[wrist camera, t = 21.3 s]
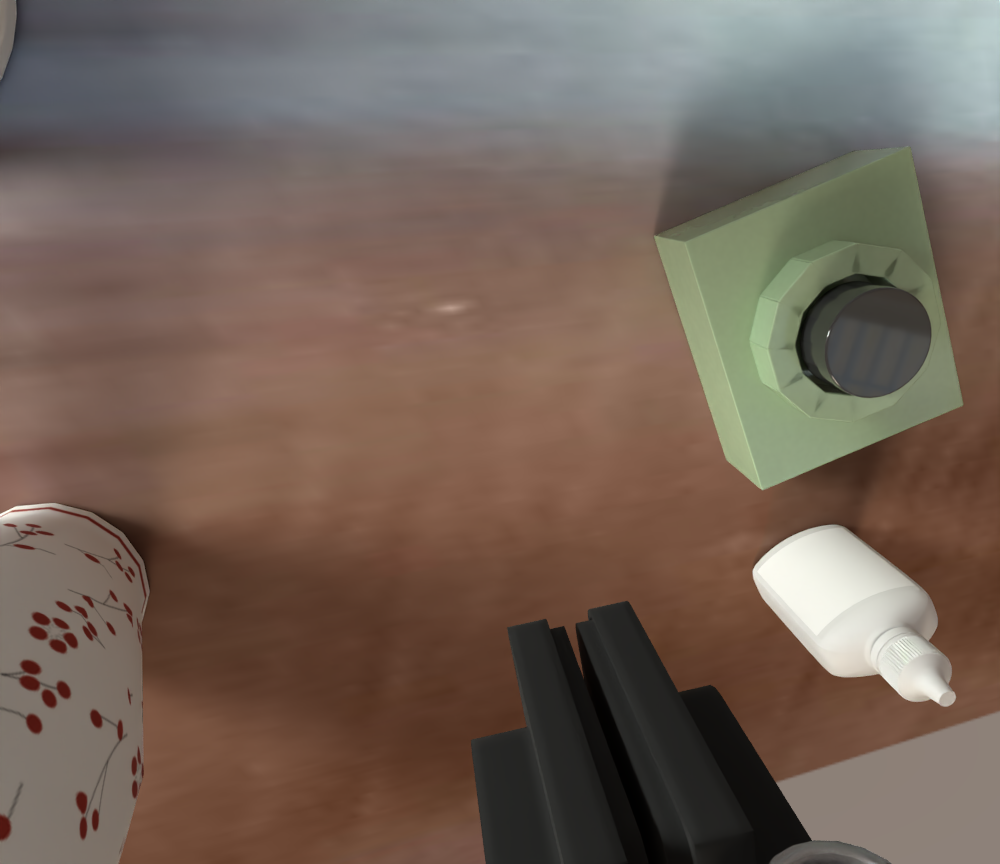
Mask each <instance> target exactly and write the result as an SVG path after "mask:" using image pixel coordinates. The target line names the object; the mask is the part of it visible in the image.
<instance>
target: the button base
mask: <svg viewBox="0 0 1000 864" xmlns="http://www.w3.org/2000/svg"><path fill="white" fill-rule="evenodd" d="M654 239H655V242H656V245H657V248H658V251H659V254H660V257H661V260H662V263H663V266H664V269H665V272H666V275H667V279H668V282H669V285H670V288H671V291H672V294H673V297H674V300H675V303H676V306H677V309H678V312H679V315H680V319H681V322H682V325H683V328H684V331H685V334H686V337H687V340H688V343H689V346H690V349H691V352H692V355H693V359H694V362H695V365H696V368H697V371H698V374H699V377H700V380H701V383H702V386H703V389H704V392H705V395H706V399H707V402H708V405H709V408H710V411H711V414H712V417H713V420H714V423H715V426H716V429H717V432H718V435H719V439H720V442H721V445H722V448H723V451H724V454H725V457H726V460H727V461H728V462H730V463H731V464H732V465H733V466H734V467H735V468H737V469H738V470H739V471H740V472H741V473H742V474H744V475H745V476H746V477H747V478H748V479H750V480H751V481H752V482H753V483H754V484H755V485H757V486H758V487H759V488H760V489H761V490H764V489H767V488H769V487H771V486H774V485H776V484H779V483H781V482H783V481H786V480H788V479H790V478H793V477H795V476H798V475H800V474H802V473H805V472H807V471H809V470H812V469H814V468H816V467H819V466H821V465H824V464H826V463H828V462H831V461H833V460H835V459H838V458H840V457H843V456H845V455H847V454H850V453H852V452H854V451H857V450H859V449H861V448H864V447H866V446H869V445H871V444H873V443H876V442H878V441H880V440H883V439H885V438H887V437H890V436H892V435H895V434H897V433H899V432H902V431H904V430H906V429H909V428H911V427H914V426H916V425H918V424H921V423H923V422H925V421H928V420H930V419H932V418H935V417H937V416H940V415H942V414H944V413H947V412H949V411H951V410H954V409H956V408H958V407H961V406H963V399H962V395H961V390H960V385H959V380H958V375H957V370H956V365H955V361H954V356H953V351H952V346H951V341H950V336H949V331H948V327H947V322H946V317H945V312H944V307H943V302H942V297H941V293H940V288H939V283H938V278H937V273H936V268H935V264H934V259H933V254H932V249H931V244H930V239H929V234H928V230H927V225H926V220H925V215H924V210H923V205H922V200H921V196H920V191H919V186H918V181H917V176H916V171H915V166H914V162H913V157H912V152H911V147H897V148H884V149H870V150H857V151H852V152H850V153H848V154H845V155H843V156H841V157H838V158H836V159H833V160H831V161H829V162H826V163H824V164H822V165H819V166H817V167H815V168H812V169H810V170H808V171H805V172H803V173H801V174H798V175H796V176H794V177H791V178H789V179H787V180H784V181H782V182H779V183H777V184H775V185H772V186H770V187H768V188H765V189H763V190H761V191H758V192H756V193H754V194H751V195H749V196H747V197H744V198H742V199H740V200H737V201H735V202H732V203H730V204H728V205H725V206H723V207H721V208H718V209H716V210H714V211H711V212H709V213H707V214H704V215H702V216H700V217H697V218H695V219H693V220H690V221H688V222H686V223H683V224H681V225H678V226H676V227H674V228H671V229H669V230H667V231H664V232H662V233H660V234H657V235H655V236H654ZM852 281H865V282H870V283H875V284H880V285H885V286H890V287H894V288H899V289H902V290H905V291H907V292H909V293H911V294H912V295H914V296H915V297H916V298H917V299H918V300H919V301H920V302H921V303H922V304H923V306H924V308H925V309H926V311H927V313H928V315H929V319H930V322H931V329H932V337H931V344H930V349H929V352H928V355H927V357H926V359H925V361H924V364H923V365H922V367H921V368H920V370H919V371H918V373H917V374H916V375H915V376H914V377H913V378H912V379H911V380H910V381H909V382H908V383H907V384H906V385H904V386H903V387H902V388H900V389H898V390H897V391H895V392H893V393H891V394H888V395H885V396H881V397H877V398H861V397H856V396H853V395H850V394H848V393H846V392H844V391H842V390H839V389H837V388H835V387H833V386H831V385H829V384H827V383H825V382H823V381H821V380H819V379H818V378H816V377H815V376H814V375H813V374H812V373H811V372H810V371H809V369H808V368H807V367H806V365H805V363H804V361H803V358H802V355H801V350H800V334H801V328H802V325H803V322H804V320H805V317H806V315H807V313H808V312H809V310H810V308H811V307H812V306H813V304H814V303H815V302H816V301H817V300H818V299H819V298H820V297H821V296H822V295H823V294H824V293H826V292H827V291H829V290H830V289H832V288H834V287H836V286H838V285H840V284H843V283H847V282H852Z"/></svg>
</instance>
